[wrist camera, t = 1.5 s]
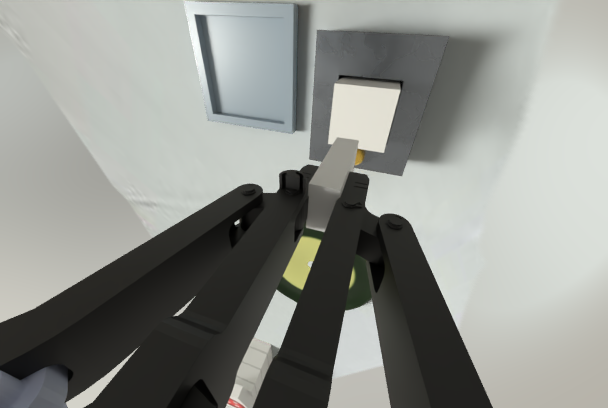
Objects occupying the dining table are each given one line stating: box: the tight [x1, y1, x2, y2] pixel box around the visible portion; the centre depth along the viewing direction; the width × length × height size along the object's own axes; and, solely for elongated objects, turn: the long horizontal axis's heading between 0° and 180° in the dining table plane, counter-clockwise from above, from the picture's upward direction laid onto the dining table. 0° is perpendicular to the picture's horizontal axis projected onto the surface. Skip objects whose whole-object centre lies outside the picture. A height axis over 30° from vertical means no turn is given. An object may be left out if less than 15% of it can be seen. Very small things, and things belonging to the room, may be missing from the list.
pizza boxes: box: [227, 338, 273, 408], centre depth 87 cm, size 19×30×18 cm, turn 177°
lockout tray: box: [184, 1, 298, 134], centre depth 31 cm, size 14×14×2 cm
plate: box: [277, 222, 372, 310], centre depth 51 cm, size 28×28×2 cm
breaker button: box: [328, 76, 401, 153], centre depth 25 cm, size 6×6×6 cm
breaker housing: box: [309, 30, 449, 176], centre depth 27 cm, size 14×12×7 cm
